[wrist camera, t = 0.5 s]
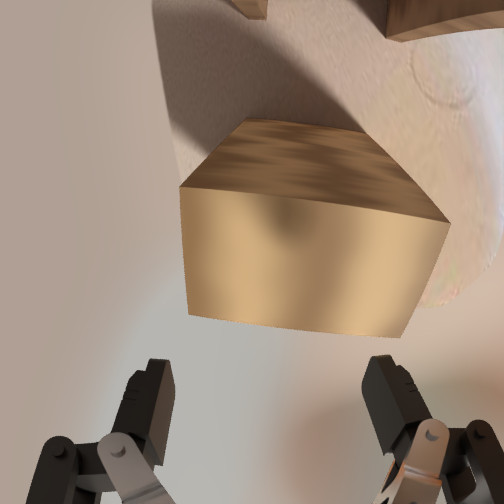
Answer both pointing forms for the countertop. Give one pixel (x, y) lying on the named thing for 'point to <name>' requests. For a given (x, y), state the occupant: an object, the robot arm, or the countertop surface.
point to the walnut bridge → (419, 16)
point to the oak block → (307, 232)
